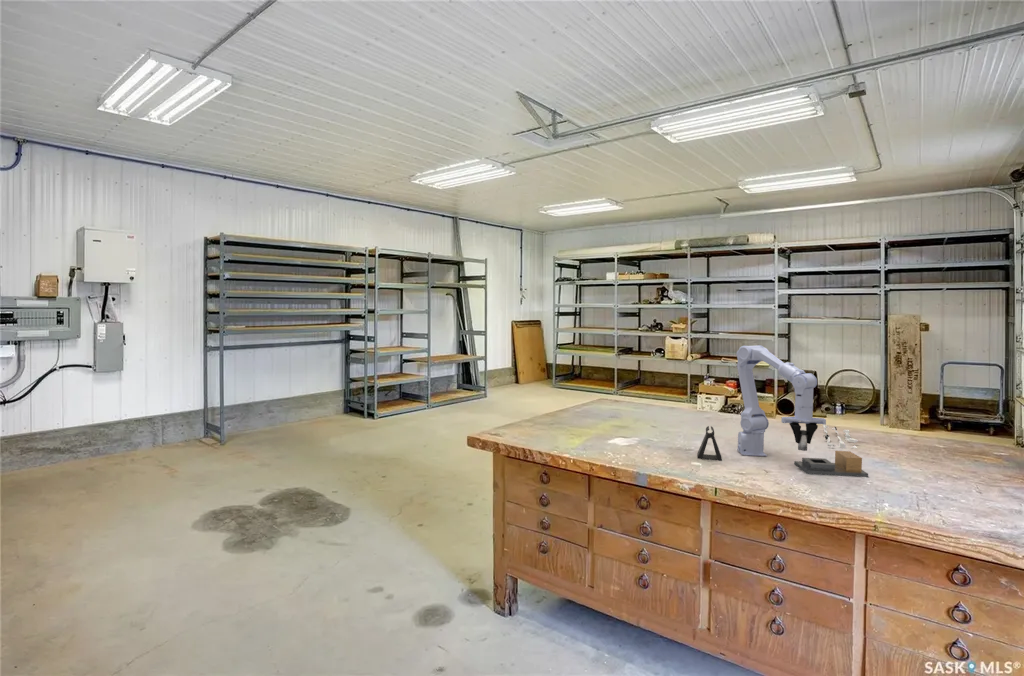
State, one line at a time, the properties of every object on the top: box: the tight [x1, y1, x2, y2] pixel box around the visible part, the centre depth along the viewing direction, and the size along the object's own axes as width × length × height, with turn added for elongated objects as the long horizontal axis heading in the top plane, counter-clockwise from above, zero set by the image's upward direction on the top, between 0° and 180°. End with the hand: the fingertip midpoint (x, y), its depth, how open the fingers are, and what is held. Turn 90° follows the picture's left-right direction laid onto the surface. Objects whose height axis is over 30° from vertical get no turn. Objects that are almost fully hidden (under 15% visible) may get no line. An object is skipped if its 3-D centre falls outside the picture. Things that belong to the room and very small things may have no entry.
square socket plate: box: [793, 450, 869, 478], centre depth 191 cm, size 20×12×6 cm, turn 81°
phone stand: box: [696, 425, 723, 461], centre depth 207 cm, size 9×6×12 cm, turn 71°
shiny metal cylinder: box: [797, 429, 808, 452], centre depth 193 cm, size 3×3×7 cm
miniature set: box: [822, 424, 859, 449], centre depth 235 cm, size 6×35×12 cm
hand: (802, 442), depth 193 cm, fingers closed on shiny metal cylinder, 3 cm apart
